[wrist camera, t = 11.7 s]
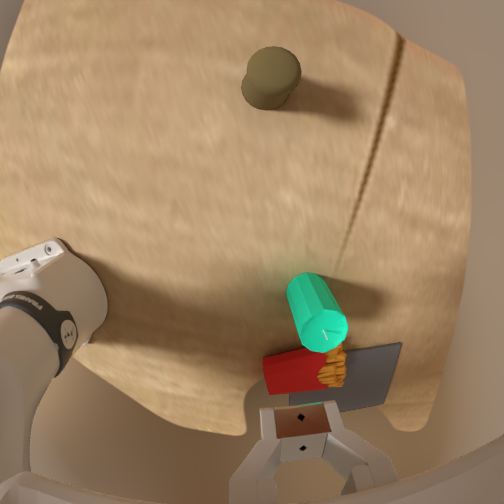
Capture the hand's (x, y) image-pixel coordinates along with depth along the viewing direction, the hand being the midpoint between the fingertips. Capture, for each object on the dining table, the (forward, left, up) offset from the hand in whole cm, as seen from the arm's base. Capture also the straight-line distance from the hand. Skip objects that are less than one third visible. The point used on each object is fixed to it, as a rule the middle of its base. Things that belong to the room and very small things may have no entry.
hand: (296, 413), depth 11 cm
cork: (+2, +17, -31) cm, 36 cm away
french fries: (+1, -25, -29) cm, 39 cm away
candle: (+7, -11, -31) cm, 34 cm away
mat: (+15, -31, -31) cm, 46 cm away
